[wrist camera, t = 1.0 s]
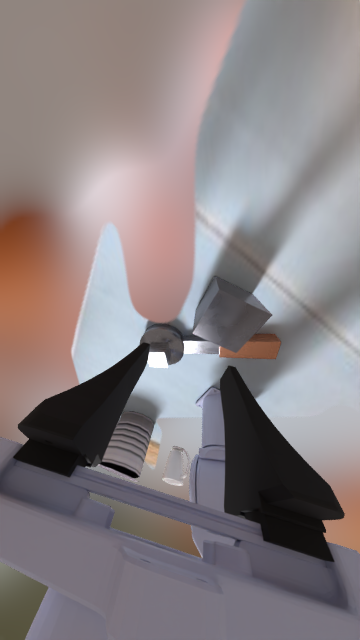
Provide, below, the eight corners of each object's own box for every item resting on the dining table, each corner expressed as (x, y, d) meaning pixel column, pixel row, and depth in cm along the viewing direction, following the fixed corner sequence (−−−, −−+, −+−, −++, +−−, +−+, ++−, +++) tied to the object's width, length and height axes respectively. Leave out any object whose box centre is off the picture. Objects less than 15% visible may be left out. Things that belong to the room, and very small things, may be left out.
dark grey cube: (252, 293, 17) (272, 315, 12) (228, 325, 20) (236, 353, 15) (214, 275, 17) (218, 289, 12) (195, 310, 20) (192, 333, 14)
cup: (164, 445, 50) (157, 477, 43) (184, 442, 45) (180, 478, 38) (176, 453, 51) (172, 485, 45) (196, 451, 47) (195, 487, 40)
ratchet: (278, 320, 18) (297, 341, 15) (267, 360, 22) (280, 384, 18) (139, 324, 23) (126, 340, 19) (149, 356, 26) (140, 375, 23)
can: (160, 429, 43) (146, 487, 33) (133, 429, 47) (113, 481, 36) (142, 409, 38) (119, 470, 28) (114, 411, 42) (85, 465, 32)
